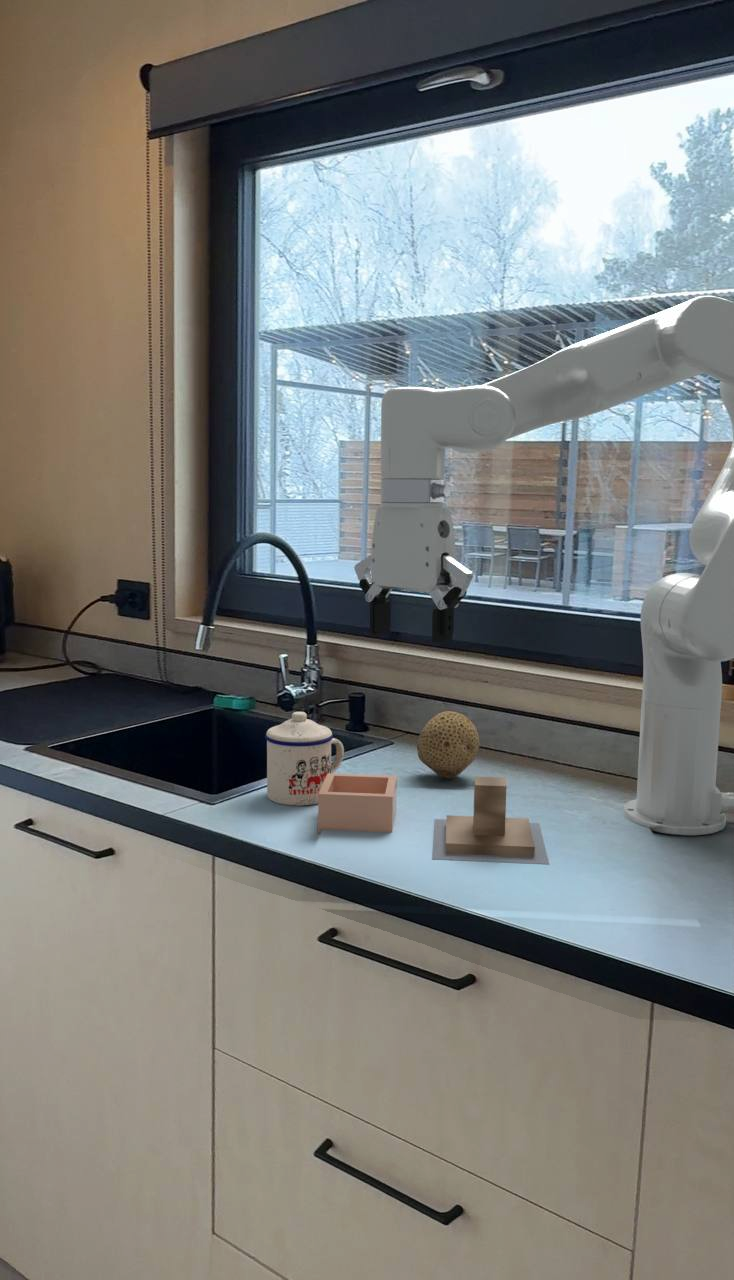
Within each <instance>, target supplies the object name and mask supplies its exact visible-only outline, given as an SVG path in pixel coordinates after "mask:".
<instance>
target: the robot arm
mask: <svg viewBox="0 0 734 1280" xmlns="http://www.w3.org/2000/svg"><path fill="white" fill-rule="evenodd" d="M700 375H707V376H710V377H712V378H714V379H716V380H718V381H719V393H720V397H721V400H722V403H723V405H724V408H725V410H726V411H727V414H728V416H729V419H730V422H731V427H732V443H731V448H730V451H729V453H728V455H727V458H726V460H725V462H724V465H723V467H722V468H721V471H720V472H719V475H718V476H717V479H716V480H715V482H714V483H713V486H712V487H711V489H710V491H709V493H708V495H707V497H706V498H705V500H704V502H703V504H702V506H701V508H700V510H699V512H698V513H697V515H696V517H695V519H694V521H693V522H692V526H691V527H690V531H689V535H688V536H689V539H688V542H689V548H690V550H691V553H692V555H693V556H694V557H695V558H696V559H697V560H698V562H700V563H701V564H702V565H704V566H705V567H704V569H703V571H702V572H701V574H698V573H691V572H677V573H672V574H668V575H666V576H664V577H661V578H660V579H659V580H657V581H656V582H655V583H654V584H652V586H651V587H650V588H649V589H648V591H647V593H646V594H645V596H644V599H643V601H642V604H641V610H640V633H641V634H640V635H641V644H642V654H643V655H642V657H643V659H642V661H643V662H642V664H643V665H642V666H643V673H642V674H643V675H642V695H641V708H640V711H641V712H640V724H639V725H640V728H639V748H638V763H637V764H638V765H637V782H636V783H637V784H636V786H637V787H636V798H635V799H631V800H629V801H628V802H626V803H625V804H624V805H623V810H622V811H623V815H624V817H626V819H628V820H629V821H630V822H633V823H635V824H637V825H640V826H644V827H647V828H649V830H650V831H652V832H656V833H661V834H662V833H663V834H669V835H675V836H676V835H677V836H703V835H705V836H706V835H710V834H714V833H718V832H720V831H722V830H723V829H725V828H726V824H727V815H726V814H728V812H729V811H734V792H721V791H720V789H719V788H718V787H717V786H716V785H717V784H716V780H717V767H718V752H719V737H720V722H721V721H720V720H721V708H722V707H721V706H722V693H723V674H722V673H723V672H722V664H721V663H722V662H727V661H731V660H733V659H734V301H731V300H729V299H726V298H723V297H718V296H714V295H701V296H697V297H694V298H691V299H689V300H687V301H685V302H682V303H680V304H677V305H675V306H673V307H670V308H667V309H664V310H662V311H659V312H657V313H654V314H650V315H648V316H646V317H643V318H640V319H637V320H635V321H633V322H630V323H627V324H625V325H622V326H619V327H617V328H615V329H611V330H610V331H606V332H604V333H600V334H598V335H596V336H593V337H590V338H587V339H585V340H581V341H579V342H576V343H574V344H571V345H569V346H567V347H565V348H562V349H560V350H559V351H557V352H555V353H553V354H551V355H549V356H548V357H547V356H546V358H544V359H542V360H540V361H538V362H536V363H534V364H532V365H529V366H527V367H525V368H523V369H520V370H517V371H514V372H512V373H510V374H508V375H505V376H502V377H500V378H497V379H494V380H492V381H489V382H486V383H483V384H480V385H471V386H465V387H464V386H463V387H457V388H455V387H453V388H444V389H443V388H441V389H436V388H432V387H427V386H426V387H425V386H424V387H422V386H419V387H418V386H404V387H402V386H401V387H395V388H391V389H390V388H389V389H388V390H386V392H384V394H383V396H382V398H381V407H380V410H381V412H380V504H379V505H380V506H377V508H376V512H375V516H374V517H375V519H374V524H373V530H372V537H371V538H372V539H371V549H370V550H371V552H370V555H369V556H367V557H365V558H364V559H361V561H360V562H357V563H356V564H355V565H354V571H355V574H356V577H357V579H358V581H359V582H358V584H359V588H360V589H361V590H362V591H363V594H365V596H364V598H365V600H366V602H368V603H369V634H370V635H372V636H373V635H374V636H377V635H382V634H388V633H389V632H391V600H387V598H388V597H389V596H390V594H391V592H392V591H393V590H398V591H408V592H409V591H410V592H422V593H426V592H427V593H428V594H429V596H430V598H431V600H432V601H433V602H434V604H435V606H436V607H437V608H434V609H432V616H431V617H432V620H431V621H432V627H431V628H432V629H431V632H432V633H431V634H432V635H431V641H432V642H433V643H434V644H442V643H447V642H451V641H452V640H453V637H454V631H455V630H454V627H455V626H454V625H455V622H454V620H455V616H454V615H455V614H454V613H455V609H456V608H457V607H459V605H460V602H461V601H462V599H464V597H466V595H467V593H468V589H469V588H470V585H471V582H472V580H473V578H474V573H473V571H471V570H469V569H468V568H467V567H465V566H464V565H462V564H461V563H460V562H458V561H457V554H456V553H457V552H456V538H455V529H454V523H453V518H452V514H451V513H452V512H451V510H450V507H449V506H445V503H444V501H445V497H446V498H448V497H449V496H450V495H451V487H450V486H449V485H447V484H446V485H445V460H446V459H445V457H446V456H445V452H446V451H445V450H446V448H450V449H451V450H453V451H455V452H457V453H460V454H473V453H482V452H488V451H491V450H493V449H496V448H498V447H500V446H502V444H504V443H505V442H506V441H507V440H510V439H512V438H514V437H518V436H520V435H523V434H526V433H528V432H533V430H534V431H535V430H537V429H540V428H543V427H547V426H550V425H553V424H557V423H561V422H566V421H572V420H578V419H581V418H584V417H589V416H591V415H594V414H597V413H601V412H603V411H606V410H609V409H611V408H614V407H616V406H619V405H621V404H624V403H626V402H629V401H632V400H635V399H637V398H640V397H642V396H645V395H648V394H650V393H654V392H655V391H659V390H662V389H664V388H667V387H669V386H672V385H675V384H678V383H680V382H683V381H685V380H689V379H691V378H694V377H696V376H700Z"/></svg>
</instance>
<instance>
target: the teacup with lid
mask: <svg viewBox="0 0 734 1280" xmlns="http://www.w3.org/2000/svg"><path fill="white" fill-rule="evenodd" d="M307 716H308V715H307V713H306V712H304V711H294V712H293V713H292V714H291V718H290V719H287V720H285V721H284V722H282V723H280V724H278V725H277V724H276V725H275V726H272V727H270V728H268V730H267V731H266V734H265V735H264V737H265V740H266V789H267V790H266V794H267V795H266V796H267V797H268V799H269V800H270V801H272V802H274V803H276V804H279V805H283V806H284V805H286V806H297V807H298V806H302V807H303V806H312V805H318V794H319V791H320V789H321V787H322V785H323V782H324V780H325V778H326V775H327V773H335V772H336V771H337V770H338V769H339V768H340V766H341V765H342V762H343V761H344V760H343V759H344V755H345V748H344V745H343V743H342V742H341V741H340V740H339V739H337V738H335V737H334V736H333V732H332V730H331V729H330V728H329V727H327V726H326V725H321V724H319V723H317V722H315V721H314V720H311V719H308V718H307ZM332 745H334V746H335V750H336V751H335V757H334V760H333V762H332Z"/></svg>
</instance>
